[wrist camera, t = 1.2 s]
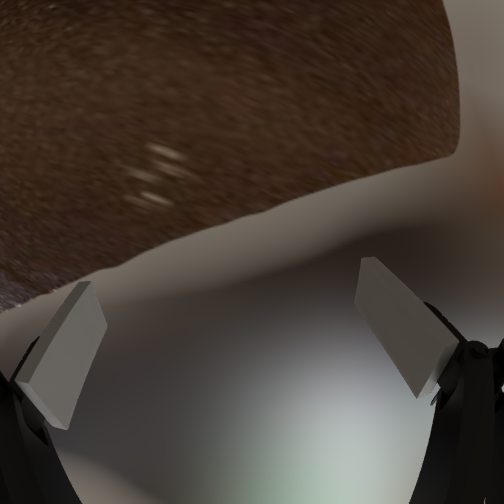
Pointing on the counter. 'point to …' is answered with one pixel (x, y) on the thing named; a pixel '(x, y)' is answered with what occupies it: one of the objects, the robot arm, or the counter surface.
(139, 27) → the counter surface
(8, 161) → the counter surface
